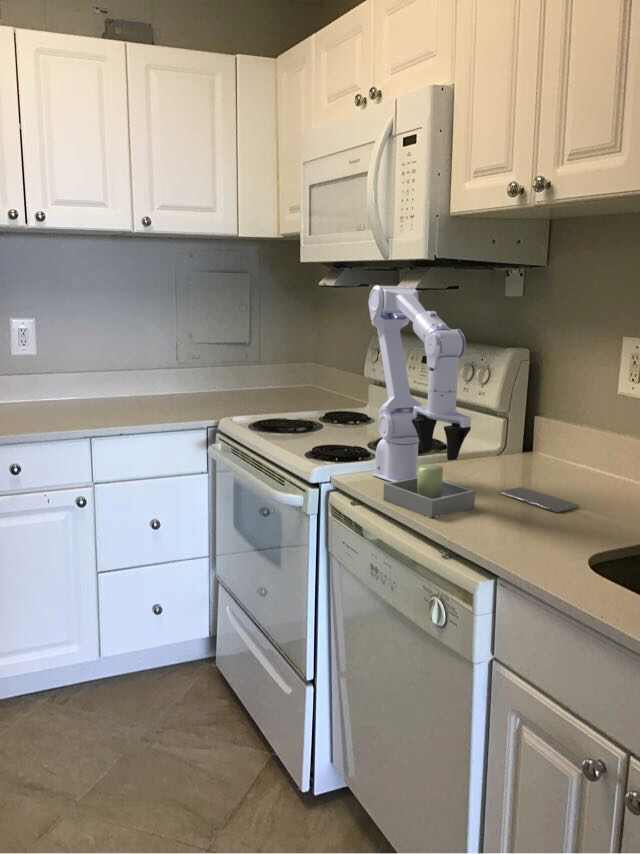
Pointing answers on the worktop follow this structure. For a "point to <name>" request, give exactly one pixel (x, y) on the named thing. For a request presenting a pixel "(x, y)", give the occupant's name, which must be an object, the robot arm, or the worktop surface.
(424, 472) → the green cylinder
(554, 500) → the smartphone
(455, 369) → the robot arm
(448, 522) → the worktop surface
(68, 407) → the worktop surface
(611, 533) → the worktop surface
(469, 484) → the worktop surface
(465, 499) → the grey bin
